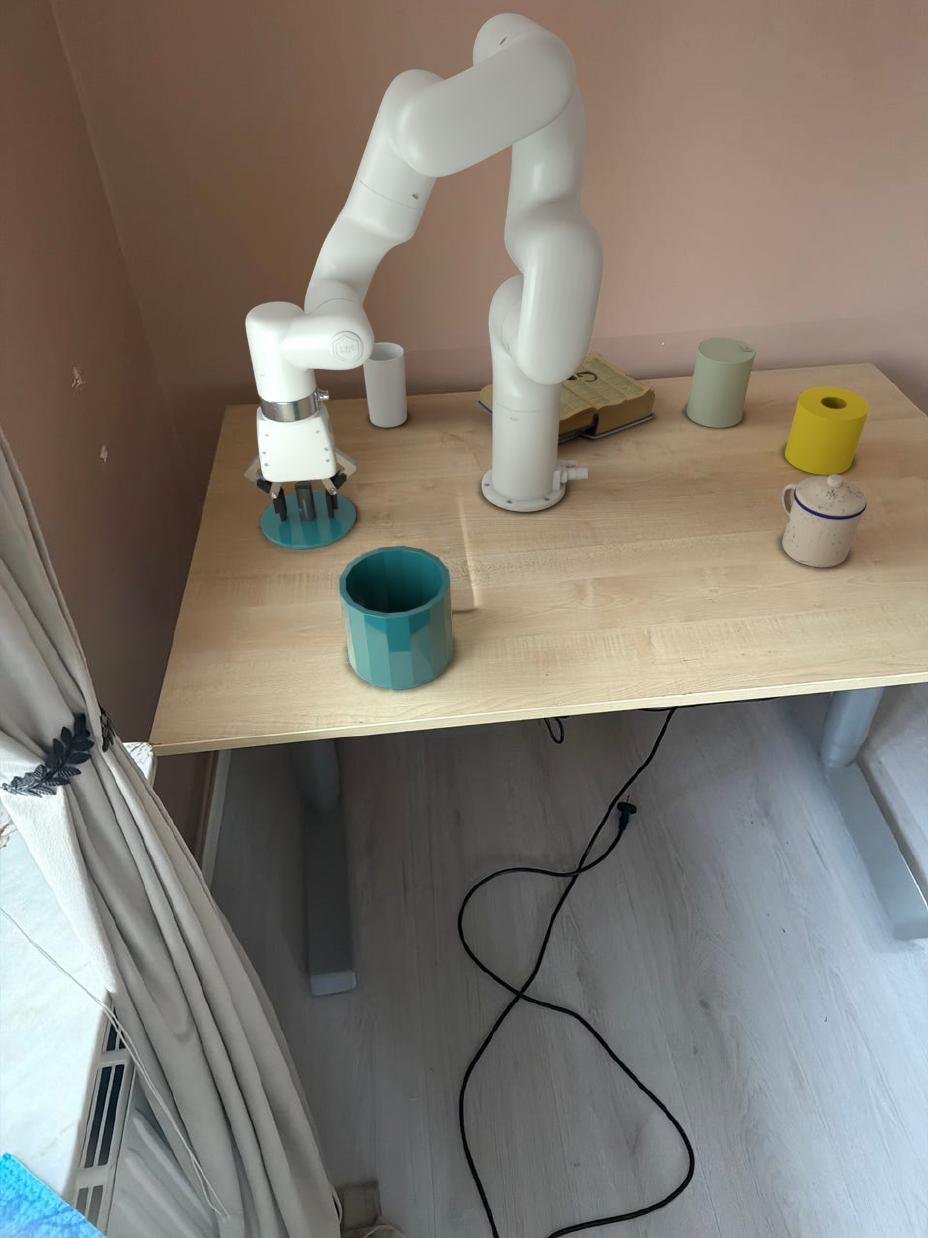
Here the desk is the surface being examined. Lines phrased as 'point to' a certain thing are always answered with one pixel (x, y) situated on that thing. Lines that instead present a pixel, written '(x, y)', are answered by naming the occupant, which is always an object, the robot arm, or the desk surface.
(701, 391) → the can
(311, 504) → the lid
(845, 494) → the teacup with lid
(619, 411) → the book
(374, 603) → the pot
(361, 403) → the desk surface
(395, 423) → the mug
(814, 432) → the yellow toilet paper roll
